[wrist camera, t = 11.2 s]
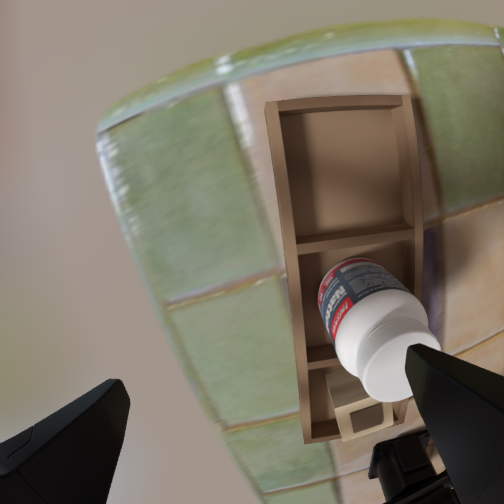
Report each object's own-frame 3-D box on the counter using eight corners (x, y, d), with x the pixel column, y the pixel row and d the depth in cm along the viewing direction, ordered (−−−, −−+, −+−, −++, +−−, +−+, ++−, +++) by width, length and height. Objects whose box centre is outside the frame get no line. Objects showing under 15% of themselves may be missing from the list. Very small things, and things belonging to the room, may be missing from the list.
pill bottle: (316, 258, 20) (355, 324, 12) (391, 253, 20) (463, 308, 11) (315, 331, 22) (344, 420, 13) (385, 323, 21) (439, 400, 13)
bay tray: (394, 405, 24) (403, 423, 22) (301, 424, 25) (304, 444, 22) (393, 102, 18) (410, 95, 15) (264, 109, 18) (265, 102, 16)
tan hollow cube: (378, 392, 23) (394, 426, 19) (333, 408, 24) (343, 443, 20) (373, 357, 22) (391, 391, 18) (324, 374, 23) (335, 410, 18)
